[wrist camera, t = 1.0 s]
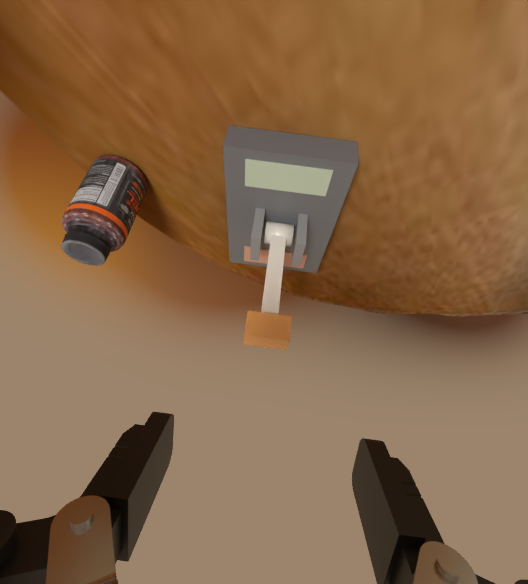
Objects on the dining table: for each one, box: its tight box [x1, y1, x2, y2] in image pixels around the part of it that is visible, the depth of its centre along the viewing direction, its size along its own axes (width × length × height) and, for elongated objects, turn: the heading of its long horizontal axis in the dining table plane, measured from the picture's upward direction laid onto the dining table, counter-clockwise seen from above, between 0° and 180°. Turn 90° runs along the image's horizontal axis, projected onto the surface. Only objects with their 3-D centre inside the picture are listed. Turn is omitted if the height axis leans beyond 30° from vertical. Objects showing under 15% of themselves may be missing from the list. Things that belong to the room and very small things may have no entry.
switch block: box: [223, 125, 359, 273], centre depth 35 cm, size 12×18×7 cm, turn 176°
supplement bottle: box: [61, 155, 147, 266], centre depth 33 cm, size 6×6×11 cm
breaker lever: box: [244, 221, 294, 350], centre depth 32 cm, size 4×2×14 cm, turn 86°
